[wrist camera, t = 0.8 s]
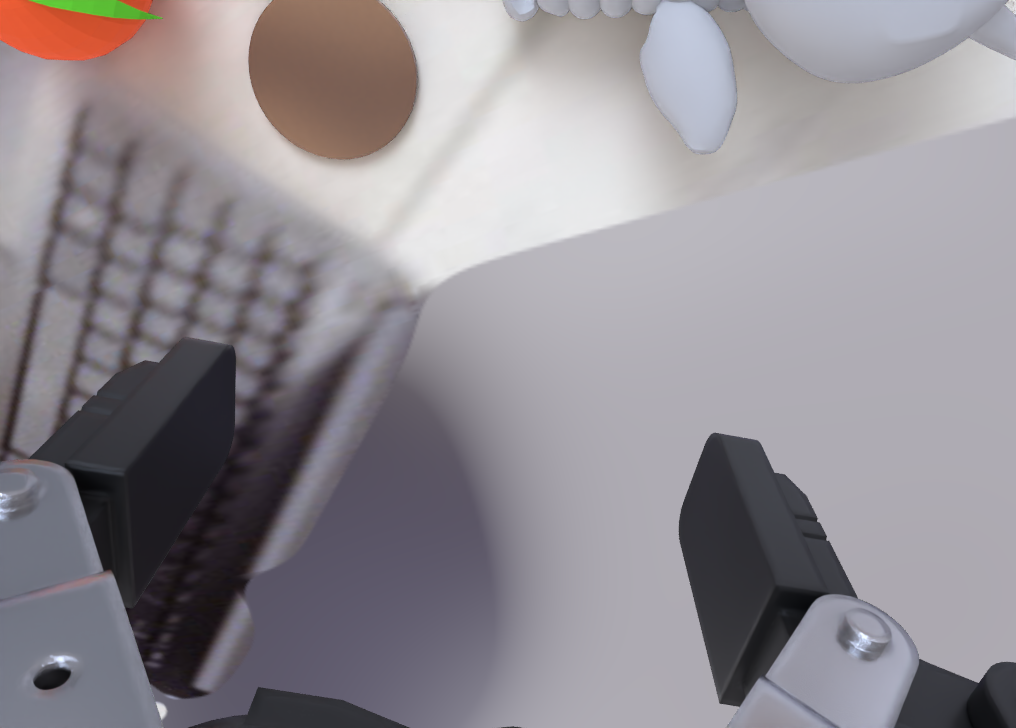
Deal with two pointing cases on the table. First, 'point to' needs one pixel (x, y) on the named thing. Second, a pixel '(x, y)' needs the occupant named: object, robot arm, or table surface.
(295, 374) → the table surface
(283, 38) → the cork coaster
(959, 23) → the toy creature
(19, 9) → the clementine
